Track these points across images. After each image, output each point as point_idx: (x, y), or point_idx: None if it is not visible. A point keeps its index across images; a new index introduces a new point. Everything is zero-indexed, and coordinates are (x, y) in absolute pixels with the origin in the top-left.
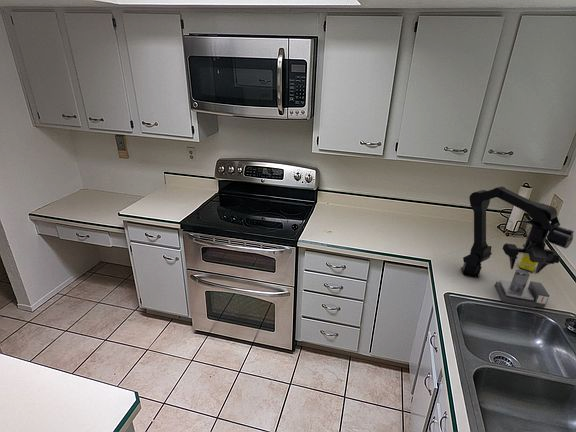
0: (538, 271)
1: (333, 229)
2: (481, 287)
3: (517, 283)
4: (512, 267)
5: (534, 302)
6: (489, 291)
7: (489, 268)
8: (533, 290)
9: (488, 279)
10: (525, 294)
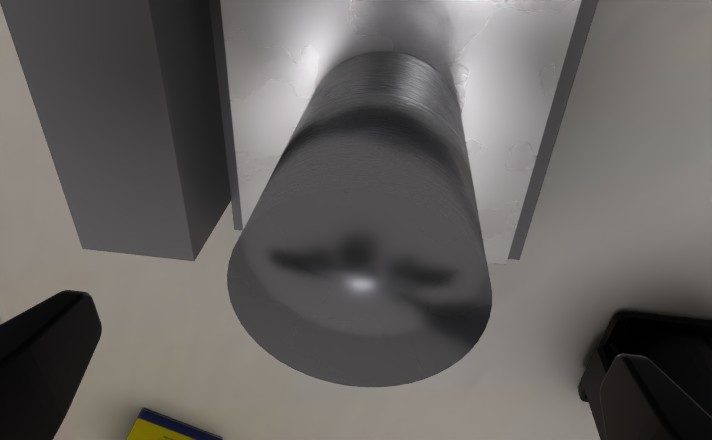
0: (21, 328)
1: None
2: (689, 171)
3: (436, 118)
4: (672, 400)
5: None
6: (637, 116)
7: (437, 421)
8: (190, 111)
9: (524, 302)
10: (308, 18)
